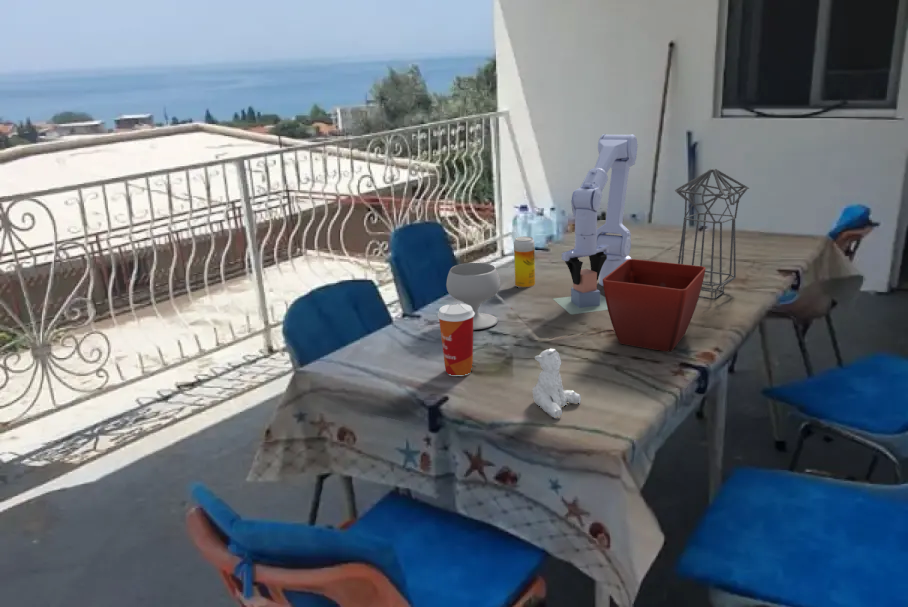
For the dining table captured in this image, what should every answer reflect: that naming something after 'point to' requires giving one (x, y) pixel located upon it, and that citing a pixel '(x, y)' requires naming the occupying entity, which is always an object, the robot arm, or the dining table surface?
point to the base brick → (585, 298)
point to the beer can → (524, 262)
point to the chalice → (474, 289)
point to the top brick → (587, 281)
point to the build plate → (573, 309)
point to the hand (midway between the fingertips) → (585, 281)
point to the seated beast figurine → (552, 385)
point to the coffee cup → (457, 337)
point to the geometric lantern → (696, 181)
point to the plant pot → (652, 302)
